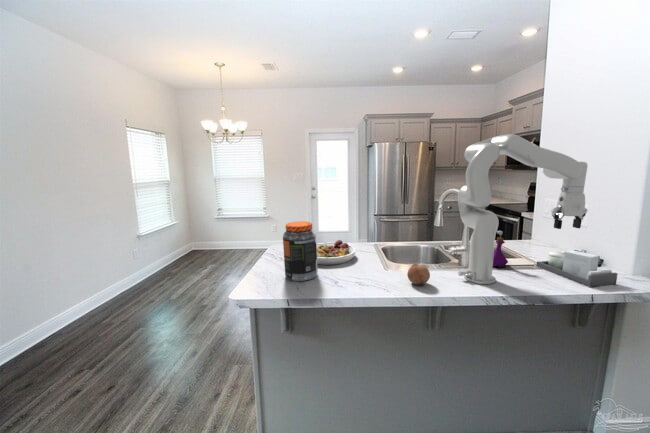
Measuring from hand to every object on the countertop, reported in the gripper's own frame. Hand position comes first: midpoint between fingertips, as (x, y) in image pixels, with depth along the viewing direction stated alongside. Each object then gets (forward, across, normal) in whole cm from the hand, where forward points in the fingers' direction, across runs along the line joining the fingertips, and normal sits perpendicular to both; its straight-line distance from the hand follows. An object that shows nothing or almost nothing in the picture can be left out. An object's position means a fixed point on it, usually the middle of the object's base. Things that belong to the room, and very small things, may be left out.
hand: (566, 228), depth 134 cm
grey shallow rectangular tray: (+22, +5, -2) cm, 22 cm away
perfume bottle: (+23, -19, +16) cm, 34 cm away
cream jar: (+21, +5, +7) cm, 23 cm away
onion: (+24, -68, +2) cm, 72 cm away
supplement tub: (+26, -118, +22) cm, 123 cm away
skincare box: (+21, +5, -4) cm, 22 cm away
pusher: (+21, +5, -13) cm, 25 cm away
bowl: (+25, -101, +48) cm, 114 cm away
